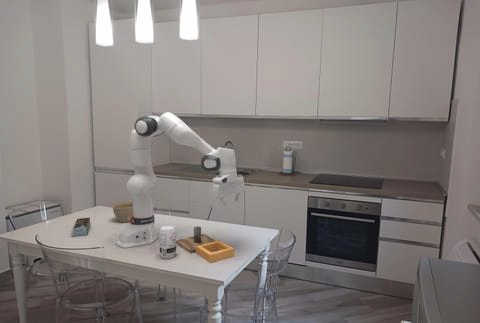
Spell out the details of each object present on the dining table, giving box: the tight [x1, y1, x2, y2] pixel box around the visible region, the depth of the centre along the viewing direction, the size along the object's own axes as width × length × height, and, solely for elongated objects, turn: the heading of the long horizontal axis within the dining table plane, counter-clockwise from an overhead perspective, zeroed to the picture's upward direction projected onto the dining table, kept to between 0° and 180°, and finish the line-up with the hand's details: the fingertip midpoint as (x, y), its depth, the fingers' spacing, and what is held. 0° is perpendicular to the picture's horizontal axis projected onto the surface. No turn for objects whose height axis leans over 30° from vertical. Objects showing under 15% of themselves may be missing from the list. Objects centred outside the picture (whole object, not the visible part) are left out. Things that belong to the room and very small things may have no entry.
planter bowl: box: [112, 201, 133, 223], centre depth 233 cm, size 16×16×11 cm
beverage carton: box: [72, 217, 91, 238], centre depth 211 cm, size 8×19×7 cm, turn 18°
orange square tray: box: [195, 240, 235, 264], centre depth 176 cm, size 14×14×4 cm
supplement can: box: [158, 224, 177, 260], centre depth 174 cm, size 8×8×15 cm
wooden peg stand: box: [176, 226, 217, 254], centre depth 190 cm, size 18×18×10 cm
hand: (230, 203), depth 179 cm, fingers open, 8 cm apart
